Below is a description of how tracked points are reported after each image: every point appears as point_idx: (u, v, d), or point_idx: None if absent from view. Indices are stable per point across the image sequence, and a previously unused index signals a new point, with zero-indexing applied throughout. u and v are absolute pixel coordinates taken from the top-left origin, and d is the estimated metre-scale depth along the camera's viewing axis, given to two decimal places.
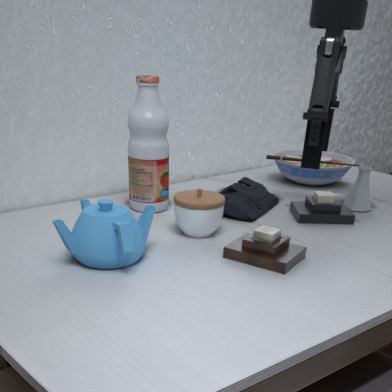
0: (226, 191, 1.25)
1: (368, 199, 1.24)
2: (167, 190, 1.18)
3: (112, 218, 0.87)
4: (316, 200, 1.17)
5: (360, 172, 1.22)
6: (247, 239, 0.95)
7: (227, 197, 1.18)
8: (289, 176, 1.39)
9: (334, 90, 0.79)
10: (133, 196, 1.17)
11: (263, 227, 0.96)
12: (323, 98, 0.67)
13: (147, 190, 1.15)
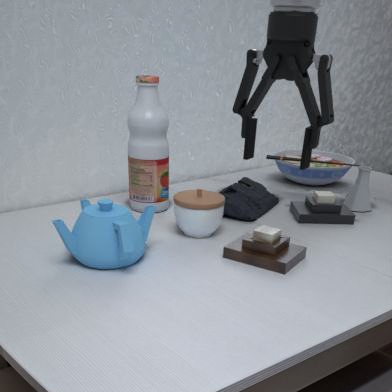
0: (226, 191, 1.25)
1: (368, 199, 1.24)
2: (167, 190, 1.18)
3: (112, 218, 0.87)
4: (316, 200, 1.17)
5: (360, 172, 1.22)
6: (247, 239, 0.95)
7: (227, 197, 1.18)
8: (289, 176, 1.39)
9: (263, 98, 0.85)
10: (133, 196, 1.17)
11: (263, 227, 0.96)
12: (331, 108, 0.80)
13: (147, 190, 1.15)
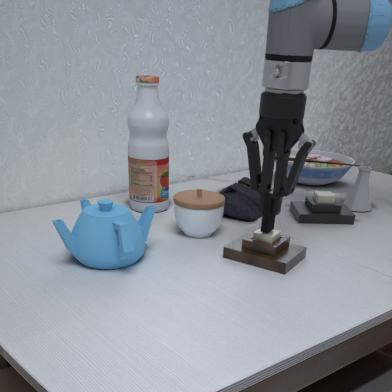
0: (226, 191, 1.25)
1: (368, 199, 1.24)
2: (167, 190, 1.18)
3: (112, 218, 0.87)
4: (316, 200, 1.17)
5: (360, 172, 1.22)
6: (247, 239, 0.95)
7: (227, 197, 1.18)
8: None
9: (272, 171, 0.90)
10: (133, 196, 1.17)
11: None
12: (295, 183, 0.89)
13: (147, 190, 1.15)
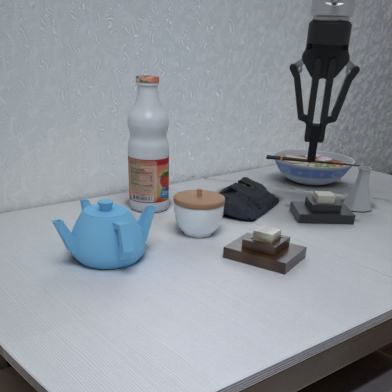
0: (226, 191, 1.25)
1: (368, 199, 1.24)
2: (167, 190, 1.18)
3: (112, 218, 0.87)
4: (316, 200, 1.17)
5: (360, 172, 1.22)
6: (247, 239, 0.95)
7: (227, 197, 1.18)
8: (289, 176, 1.39)
9: None
10: (133, 196, 1.17)
11: (263, 227, 0.96)
12: None
13: (147, 190, 1.15)
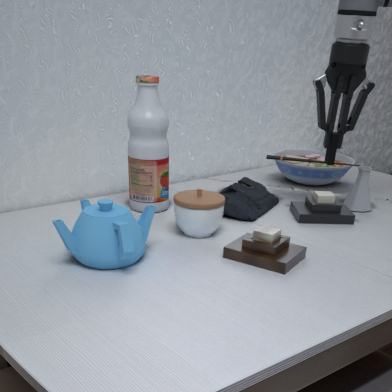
0: (226, 191, 1.25)
1: (368, 199, 1.24)
2: (167, 190, 1.18)
3: (112, 218, 0.87)
4: (316, 200, 1.17)
5: (360, 172, 1.22)
6: (247, 239, 0.95)
7: (227, 197, 1.18)
8: (289, 176, 1.39)
9: None
10: (133, 196, 1.17)
11: (263, 227, 0.96)
12: None
13: (147, 190, 1.15)
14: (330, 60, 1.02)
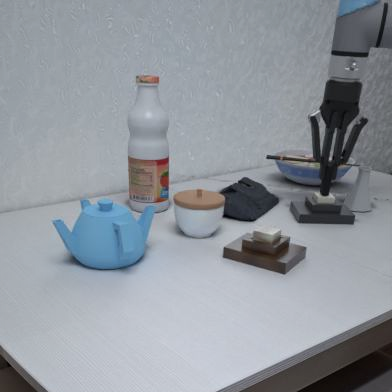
0: (226, 191, 1.25)
1: (368, 199, 1.24)
2: (167, 190, 1.18)
3: (112, 218, 0.87)
4: (316, 201, 1.17)
5: (360, 172, 1.22)
6: (247, 239, 0.95)
7: (227, 197, 1.18)
8: (289, 176, 1.39)
9: None
10: (133, 196, 1.17)
11: (263, 227, 0.96)
12: None
13: (147, 190, 1.15)
14: (324, 97, 1.06)
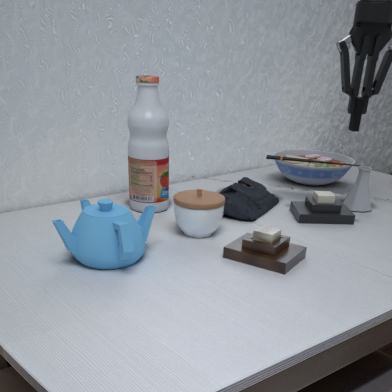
0: (226, 191, 1.25)
1: (368, 199, 1.24)
2: (167, 190, 1.18)
3: (112, 218, 0.87)
4: (316, 200, 1.17)
5: (360, 172, 1.22)
6: (247, 239, 0.95)
7: (227, 197, 1.18)
8: (289, 176, 1.39)
9: None
10: (133, 196, 1.17)
11: (263, 227, 0.96)
12: None
13: (147, 190, 1.15)
14: (355, 20, 0.99)
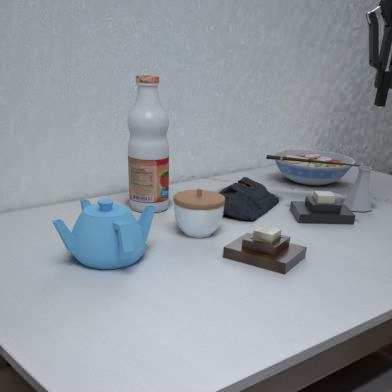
0: (226, 191, 1.25)
1: (368, 199, 1.24)
2: (167, 190, 1.18)
3: (112, 218, 0.87)
4: (316, 200, 1.17)
5: (360, 172, 1.22)
6: (247, 239, 0.95)
7: (227, 197, 1.18)
8: (289, 176, 1.39)
9: None
10: (133, 196, 1.17)
11: (263, 227, 0.96)
12: None
13: (147, 190, 1.15)
14: None
